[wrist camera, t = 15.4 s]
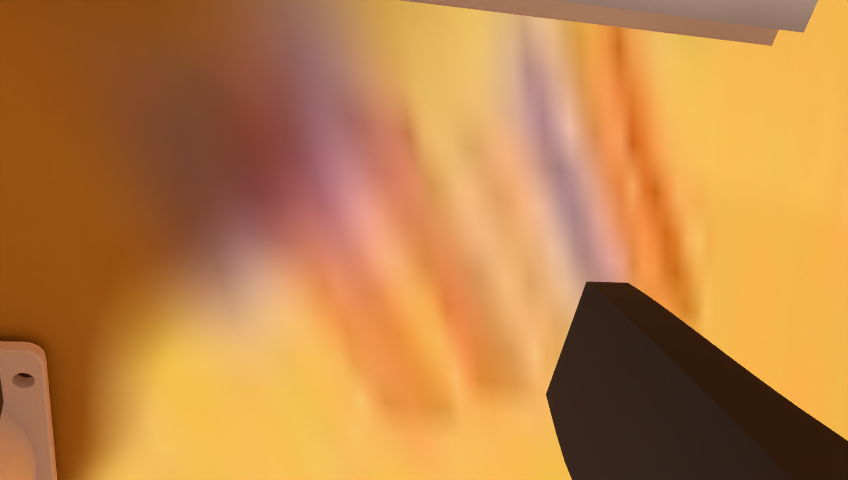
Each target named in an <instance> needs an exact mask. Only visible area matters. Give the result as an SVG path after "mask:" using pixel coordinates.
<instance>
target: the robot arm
mask: <svg viewBox="0 0 848 480" xmlns="http://www.w3.org/2000/svg"><path fill="white" fill-rule="evenodd" d="M19 373H27V374H30V375H31V376H33V377H28V378H27V377H21V376H20V375H18V374H19ZM546 396H547V400H548V404H549V408H550V411H551V415H552V419H553V423H554V427H555V431H556V434H557V437H558V441H559V444H560V447H561V451H562V454H563V457H564V461H565V464H566V466H567V468H568V471H569V473H570V476H571V478H572V480H848V441H847V440H846V439H844V438H843V437H841V436H840V435H838V434H837V433H835V432H834V431H832V430H831V429H829V428H828V427H826V426H825V425H824V424H822V423H821V422H819V421H818V420H816V419H815V418H813V417H812V416H810V415H809V414H807V413H806V412H804V411H803V410H802V409H800V408H799V407H797V406H796V405H794V404H793V403H792V402H790V401H789V400H787V399H786V398H785V397H783V396H782V395H781V394H779V393H778V392H776V391H775V390H774V389H772V388H771V387H769V386H768V385H767V384H765V383H764V382H763V381H761V380H760V379H759V378H757V377H756V376H754V375H753V374H752V373H750V372H749V371H748V370H746V369H745V368H744V367H742V366H741V365H740V364H738V363H737V362H736V361H734V360H733V359H732V358H730V357H729V356H728V355H726V354H725V353H724V352H723V351H721V350H720V349H719V348H717V347H716V346H715V345H713V344H712V343H711V342H709V341H708V340H707V339H705V338H704V337H703V336H701V335H700V334H699V333H697V332H696V331H695V330H694V329H692V328H691V327H690V326H688V325H687V324H686V323H684V322H683V321H682V320H680V319H679V318H678V317H676V316H675V315H674V314H672V313H671V312H669V311H668V310H667V309H665V308H664V307H663V306H661V305H660V304H659V303H657V302H656V301H654V300H653V299H652V298H650V297H649V296H647V295H646V294H644V293H643V292H641V291H640V290H638V289H637V288H635V287H633V286H632V285H630V284H629V283H614V282H586V285H585V287H584V290H583V293H582V296H581V298H580V301H579V304H578V307H577V310H576V312H575V315H574V318H573V321H572V324H571V326H570V329H569V332H568V335H567V337H566V340H565V343H564V346H563V349H562V351H561V354H560V357H559V360H558V363H557V365H556V368H555V371H554V374H553V376H552V379H551V382H550V385H549V388H548V390H547V393H546ZM0 480H57V471H56V460H55V449H54V438H53V427H52V416H51V405H50V394H49V383H48V372H47V361H46V355H45V352H44V350H42V349H41V348H40V347H39V346H38V345H35V344H33V343H30V342H12V341H0Z"/></svg>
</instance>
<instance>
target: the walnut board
mask: <svg viewBox="0 0 848 480" xmlns="http://www.w3.org/2000/svg"><path fill="white" fill-rule="evenodd" d="M403 1H411V2H419V3H427V4H435V5H443V6H452V7H460V8H468V9H476V10H484V11H492V12H501V13H509V14H517V15H525V16H533V17H541V18H550V19H558V20H566V21H574V22H582V23H590V24H599V25H607V26H615V27H623V28H631V29H640V30H648V31H656V32H664V33H672V34H680V35H689V36H697V37H705V38H713V39H721V40H729V41H738V42H746V43H754V44H762V45H770V46H772V44H773V42H774V39H775V37H776V35H777V32H778V30H779V29H781V30H788V31H796V32H804V31H805V28H806V26H807V24H808V22H809V19H810V17H811V15H812V13H813V10H814V8H815V6H816V4H817V1H818V0H403Z"/></svg>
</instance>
